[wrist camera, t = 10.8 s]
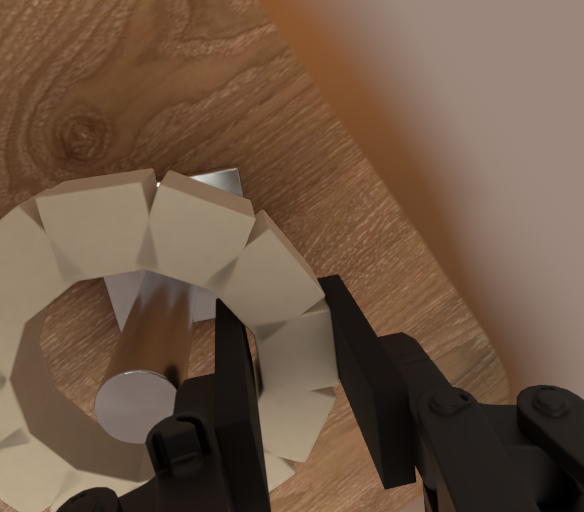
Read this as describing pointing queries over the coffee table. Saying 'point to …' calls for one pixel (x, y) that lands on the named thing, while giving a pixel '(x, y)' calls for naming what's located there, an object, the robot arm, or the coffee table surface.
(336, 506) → the coffee table surface
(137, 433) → the post
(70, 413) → the ring
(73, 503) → the robot arm
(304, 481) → the coffee table surface
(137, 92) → the coffee table surface
